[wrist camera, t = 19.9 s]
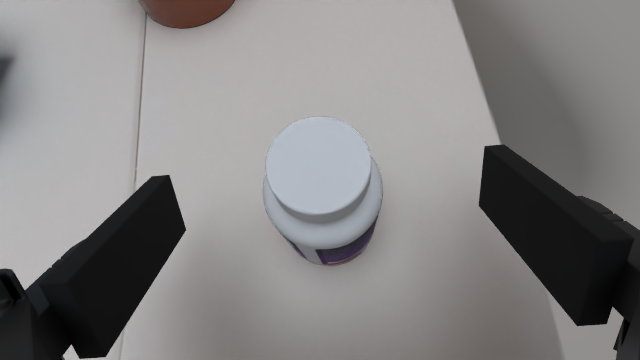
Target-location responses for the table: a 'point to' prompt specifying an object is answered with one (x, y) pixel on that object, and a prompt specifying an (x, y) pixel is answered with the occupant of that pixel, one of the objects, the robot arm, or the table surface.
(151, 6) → the jam jar
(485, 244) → the table surface
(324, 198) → the pill bottle
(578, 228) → the robot arm
